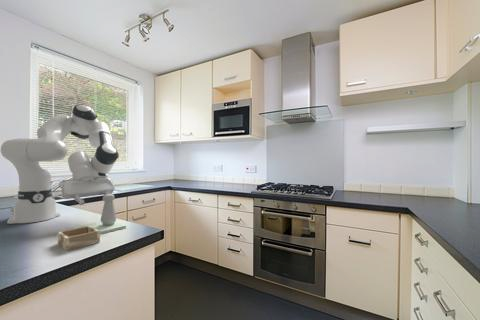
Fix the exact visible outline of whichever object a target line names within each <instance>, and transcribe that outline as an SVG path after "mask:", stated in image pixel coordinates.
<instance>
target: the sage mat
mask: <svg viewBox="0 0 480 320" xmlns="http://www.w3.org/2000/svg"><path fill="white" fill-rule="evenodd" d="M85 226H92V227H93V228H95V229H97V230H99V231H100V235H102V234H106V233H111V232H114V231H118V230H123V228H124V229H126V228H127V225H125V224H123V223H121V222H118V221H117V220H116V221H115V223H114V224H113V225H110V226H103V224H102V222H101V221H99V222H95V223H89V224H85V225H81V226H80V228H81V227H85Z"/></svg>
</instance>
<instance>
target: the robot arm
mask: <svg viewBox="0 0 480 320" xmlns="http://www.w3.org/2000/svg"><path fill="white" fill-rule="evenodd" d="M71 113H72V114H71V115H72V116H69V115H67V114H64V113H63V114H62V113H59V114H56V115H54V116H52V117H51V118H49V119H48V120H47V121H45V123H43V124H42V125H41V126H39V128H38V129H37V131H36V135H37V138H12V139H8V140H5V141H3V142H2V144H1V146H0V153H1V155H2V157H4V158H5V159H6V160H7V161H9V162H10V163H11V164H12V165H13V167H14V168H15V169H16V171H17V174H18V183H19V184H18V185H19V188H18V189H19V191H17V202H15V204H13V206H11V207H10V213H11V215H10V217H9V218H8V220H7V222H6V224H8V225H9V224H11V225H12V224H29V223H30V224H31V223H37V222H43V221H48V220H51V219H53V218H56V217H59V216H61V213H59V212H57V202H56V199H54V198H53V197H52V196H53V189H52V188H51V187H52V186H51V185H52V184H51V183H52V182H51V181H52V178H51V177H52V175H51V173H50V172H49V171H48V170H45V169H44V168H42V167H41V165H40V163H39V162H45V163H46V162H57V161H62V160H64V159H65V158H66V156H67V155H68V153H69V152H68V150H69V149H68V145H66V143H65V142H64V140H65V139H66V138H67V136H68V135H69V134H70V135H72V137H73V136H74V137H75V138H77V139H81V140H87V139H88V142H89V144H90V145H91V146H92V147H94V148H95V153H94V155H93V156H90V155H88V154H87V153H86V152H85V151H83V150H78V151H77V150H76V151H74V152H72V153H71V154H70V155H69V156H68V158H67V164H68V167H69V170H70V171H69V172H71V174H72V175H71V176H72V179H64V180H62V181H60V182H59V183H58V185H59V188H60V189H61V195H62V198H63V199H65V200H72V199H73V200H74V201H75V202H77V203H78V205H79V206H82V205H84V204H85V203H86V202H85V200H84V199H82V198H85V197H86V198H87V197H94V196H95V197H96V196H104V195H108V194H112V195H113V193H114V192H115V189H116V187H115V185H114V183H113V181H112V180H111V178H109V173H110V172H111V170H112V168H113V166H114V165H115V163H116V161H117V160H118V159H119V156H120V155H119V151H118V150H117V149H116V146H115V144H114V140H113V136H112V134H111V131H110V128H109V125H108V124H107V123H105V121H101V120H98V119H97V118H98V116H99V115H97V114H96V113H95V111H94V109H93V108H92V107H91V106H89V105H88V104H76V105H74V106H73V108H72V111H71ZM102 202H103V203H105V201H104V200H103V199H102Z"/></svg>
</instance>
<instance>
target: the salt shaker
mask: <svg viewBox="0 0 480 320" xmlns="http://www.w3.org/2000/svg"><path fill="white" fill-rule="evenodd" d="M103 200H104V201H105V202H104V201H103ZM114 200H115V195H114V194H113V193H112V194H108V195H102V201H103V207H102V208H103V209H102V213H101V216H100V222H102V224H103V226H110V225H113V224H114V223H115V221H116V222H117V214H116V209H115V204H114Z"/></svg>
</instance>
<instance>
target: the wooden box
mask: <svg viewBox="0 0 480 320" xmlns="http://www.w3.org/2000/svg"><path fill="white" fill-rule="evenodd" d="M100 239H101V234H100V231H99V230H97V229H95V228H93V227H92V226H85V227H81V226H80V227H77V228H72V229H67V230H62V231H58V232H57V244H58V246H60V247H61V248H62V249H63V250H64V251H66V252H67V251H70V250H75V249H79V248H84V247H86V246H90V245H94V244H97V243H100V242H101V240H100Z"/></svg>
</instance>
